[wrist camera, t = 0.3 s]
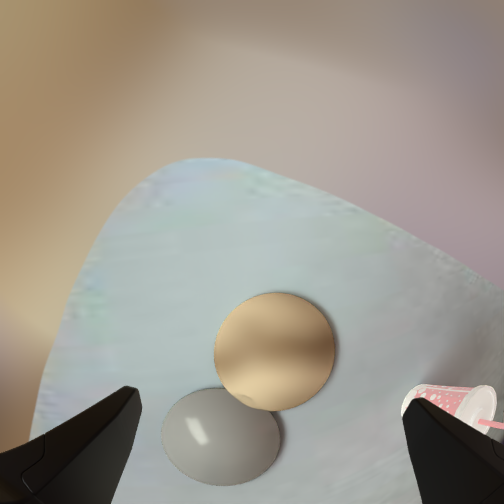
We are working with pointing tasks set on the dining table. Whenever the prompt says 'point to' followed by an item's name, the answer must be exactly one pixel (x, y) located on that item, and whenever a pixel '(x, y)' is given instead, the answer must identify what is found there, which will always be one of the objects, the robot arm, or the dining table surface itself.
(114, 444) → the robot arm
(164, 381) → the dining table surface
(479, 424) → the beverage cup
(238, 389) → the shiny gold rounded object
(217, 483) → the grey dome cap
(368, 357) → the dining table surface
